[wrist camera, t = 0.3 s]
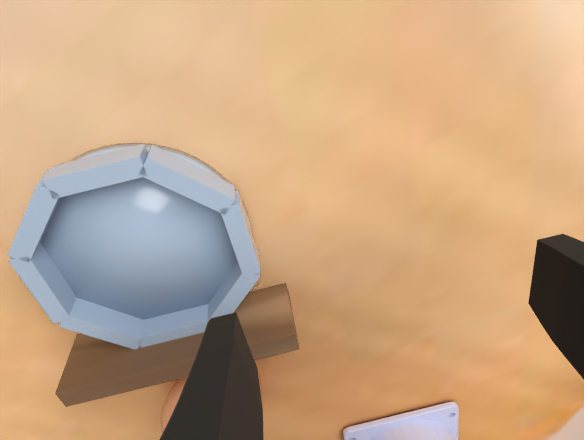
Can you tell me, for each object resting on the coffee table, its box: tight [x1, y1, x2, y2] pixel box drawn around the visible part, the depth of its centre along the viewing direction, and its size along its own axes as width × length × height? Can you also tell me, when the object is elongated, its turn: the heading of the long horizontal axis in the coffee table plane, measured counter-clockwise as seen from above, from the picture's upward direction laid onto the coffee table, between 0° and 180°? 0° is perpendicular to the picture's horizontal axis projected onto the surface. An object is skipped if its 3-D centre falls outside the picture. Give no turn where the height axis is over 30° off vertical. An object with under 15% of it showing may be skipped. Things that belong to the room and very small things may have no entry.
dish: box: [7, 143, 261, 349], centre depth 19 cm, size 9×9×2 cm
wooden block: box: [55, 283, 299, 407], centre depth 21 cm, size 1×11×4 cm, turn 102°
